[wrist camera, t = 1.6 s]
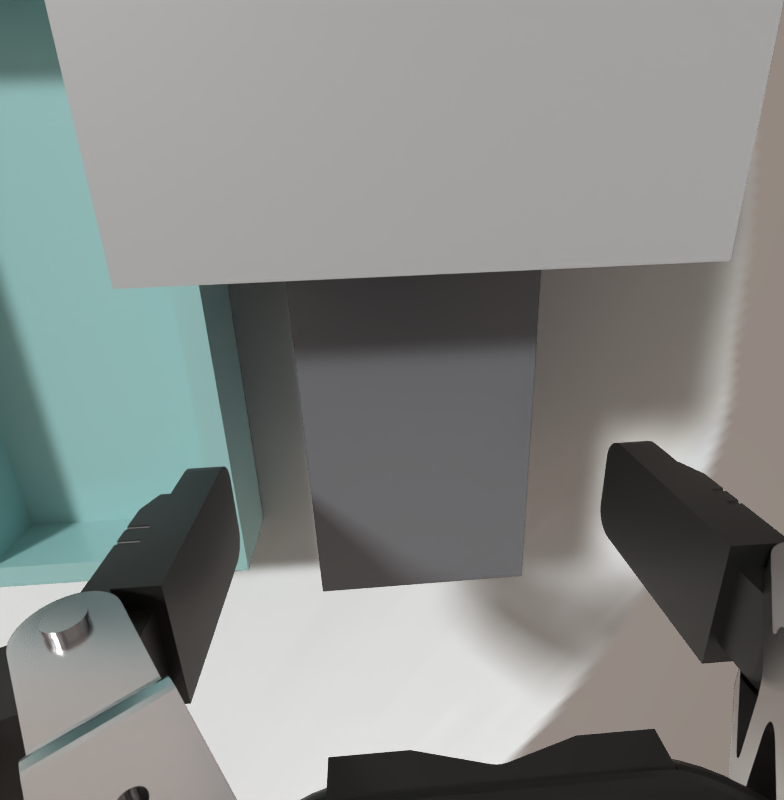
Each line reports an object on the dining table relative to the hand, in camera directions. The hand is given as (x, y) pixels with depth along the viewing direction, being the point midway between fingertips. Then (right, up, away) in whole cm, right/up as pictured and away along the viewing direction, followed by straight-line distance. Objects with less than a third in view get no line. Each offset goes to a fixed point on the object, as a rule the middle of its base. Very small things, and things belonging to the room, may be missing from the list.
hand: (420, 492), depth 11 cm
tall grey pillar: (-1, +6, +7) cm, 9 cm away
